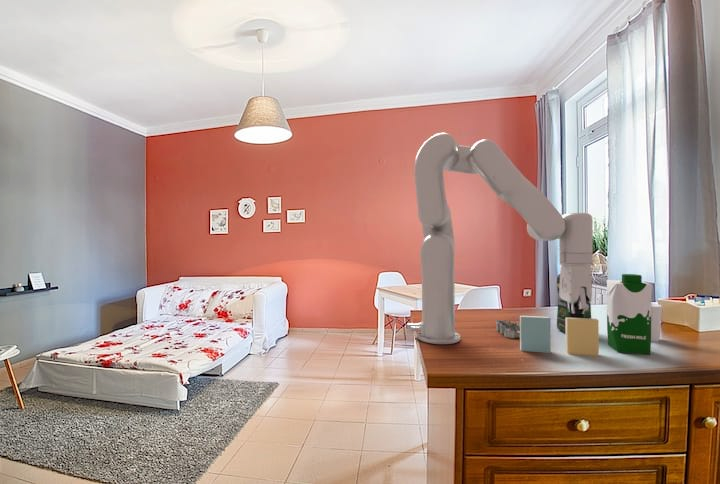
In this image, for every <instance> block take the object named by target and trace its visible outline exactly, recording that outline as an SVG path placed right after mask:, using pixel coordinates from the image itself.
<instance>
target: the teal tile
mask: <svg viewBox="0 0 720 484" xmlns="http://www.w3.org/2000/svg"><path fill="white" fill-rule="evenodd" d="M519 325H520V337H519V349H520V351H521V352H533V353H534V352H535V353H536V352H537V353H548V354H549V353H550V354H551V352H552V351H551V317H549V316H540V315H538V316H537V315H519Z"/></svg>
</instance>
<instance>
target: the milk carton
mask: <svg viewBox="0 0 720 484" xmlns="http://www.w3.org/2000/svg"><path fill="white" fill-rule="evenodd" d="M642 279H643V278H642V275H641V274H635V273H633V274H632V273H623V274H621V280H620V279H619V280H618V279H615V280H614V279H606V328H607V329H606V330H607V332H606V333H607V344H608V345H609V347H610V348H612V349H614V350H615V352H617V353H624V354H625V353H626V354H636V355H646V356H647V355H648V356H650V355H651V351H652V349H651V346H652V342H651V303H652V293H653V284H652V283H649V282H646V281H644V280H642Z"/></svg>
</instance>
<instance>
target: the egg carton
mask: <svg viewBox="0 0 720 484" xmlns="http://www.w3.org/2000/svg"><path fill="white" fill-rule="evenodd" d="M495 323H496V324H495V325H496V328H495V329H496V331H497V332H499V334H500V335H503V336H504V337H505V338H510V339H515V338H520V323H519V324H517V322H515V321H513V322H511V321H510V320H508V321H507V320H502V319H501V320H497V319H495Z"/></svg>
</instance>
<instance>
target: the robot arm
mask: <svg viewBox="0 0 720 484" xmlns="http://www.w3.org/2000/svg"><path fill="white" fill-rule="evenodd" d="M414 162H415V163H414V168H413V169H414V171H413V172H414V173H413V175H414V184H415V195H416V196H415V197H416V203H417V204H416V205H417V217H418V220H419V221H420V223H421V227H422V234H423V240H422V242H421V245H420V255H419V257H420V267H421V269H420V270H421V322H418V323H414V322H408V323H407V326H406V327H407V330H410V331H411V332H417V333H416V338H417V339H418V340H419V341H422V342H424V343H428V344H433V345H452V344H457V343H458V342H460V341H461V335H460V333H458V332H457V331H456V313H455V311H456V310H455V309H456V305H455V304H456V301H455V299H456V298H455V291H456V290H455V251H456V243H455V236H454V230H453V229H454V228H453V219H452V213H451V209H450V206H449V204H448V202H447V195H446V190H445V189H446V187H445V178H444V171H446V172H453V173H455V172H456V173H462V174H468V175H469V174H471V175H479V176H480V177H481V178H482V179H483V180H484V182H485V183H486V184H487V186H488V187H489V188H490V189H491V190H492V191H493V193H494V194H495V196H496V197H498V198H499V200H501V201H503V202H505V203H506V204H508V205H509V206H510V207H512V208H513V209H514V210H515V211H516V212H517V213H518V214H519V215H520V216H521V217H522V219H523V220H524V221H525V222H526V232H527V234H528V235H529V236H530V238H532V239H534V240H536V241H541V242H550V241H552V242H553V241H555V240H558V241H559V248H558V249H559V265H560V272H559V274H560V286H559V296H560V298H561V299H563V300H565V301H567V303H568V318H584V309H586V308H587V307H586V304H589V303H590V302H592V299H593V298H592V294H593V284H592V285H591V282H592V274H591V267H592V266H593V265H594V264H593V262H594V261H593V256H594V255H593V254H594V253H593V251H594V249H593V247H594V246H593V245H594V244H593V243H594V241H593V230H594V229H593V227H594V226H593V224H594V222H593V216H592V214H591V213H587V212H571V213H564V214H561V213H560V212H559V210H558V209H557V208H556V207H555V206H554V204H553V203H552V202H551V200H550V199H549V198H547V196H545V194H544V193H543V192H542V191H541V190H539V189H538V187H536V186H535V185H534V184H533V183H532V182H531V181H530V180H528V179H527V178H526V177H525V176H524V174H523V173H522V172H521V171H520V170H519V168H517V166H515V164H514V163H513V162H512V161H511V160H510V158H509V157H508V156H507V155H506V154H505V152H504V151H503V149H501V148H500V146H498V144H497V143H496V142H494V141H493V140H491V139H487V138H486V139H481V140H479V141H476V142H475V143H474V144H473V145H472V146H469V145H459V144H458V141H457V140H456V138H455V137H454V136H453V135H452V134H449V133H447V132H439V133H436V134H434V135H433V136H431V137H429V138H428V139H427V140H426V141H424V142H423V144H422V145H421V147H420V148H419V150H418V152H417V154H416V156H415V161H414Z"/></svg>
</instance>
